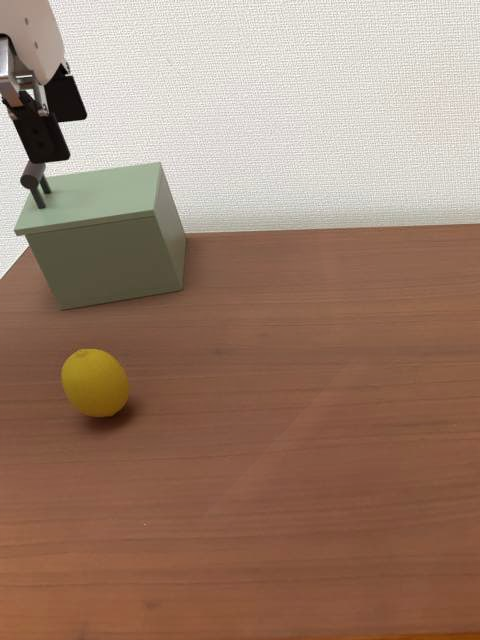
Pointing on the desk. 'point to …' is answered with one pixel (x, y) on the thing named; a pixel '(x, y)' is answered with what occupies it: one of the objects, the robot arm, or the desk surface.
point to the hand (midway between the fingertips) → (61, 139)
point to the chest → (114, 257)
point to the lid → (87, 197)
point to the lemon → (95, 382)
